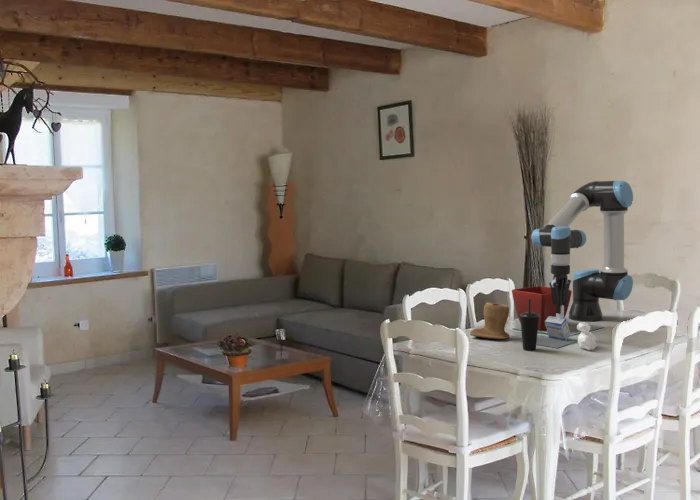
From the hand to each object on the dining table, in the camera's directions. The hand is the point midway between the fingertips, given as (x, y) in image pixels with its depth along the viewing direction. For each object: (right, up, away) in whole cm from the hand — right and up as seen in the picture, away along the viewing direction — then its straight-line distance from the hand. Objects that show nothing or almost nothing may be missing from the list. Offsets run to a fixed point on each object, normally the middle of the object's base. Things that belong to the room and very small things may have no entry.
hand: (559, 320), depth 285 cm
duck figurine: (+6, -9, -16) cm, 19 cm away
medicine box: (0, -7, +1) cm, 7 cm away
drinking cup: (-17, -10, -16) cm, 25 cm away
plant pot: (-1, -6, +26) cm, 26 cm away
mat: (-6, -8, -5) cm, 12 cm away
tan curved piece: (-27, -8, +6) cm, 29 cm away
